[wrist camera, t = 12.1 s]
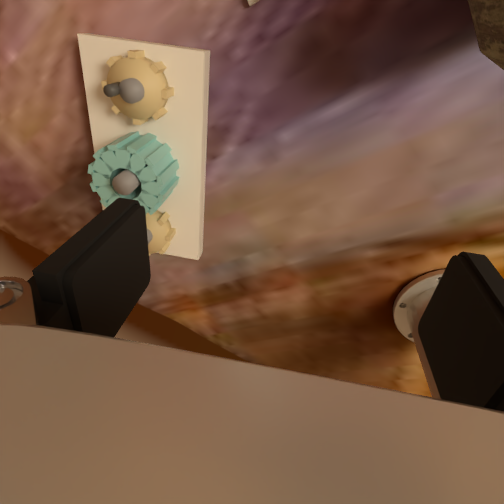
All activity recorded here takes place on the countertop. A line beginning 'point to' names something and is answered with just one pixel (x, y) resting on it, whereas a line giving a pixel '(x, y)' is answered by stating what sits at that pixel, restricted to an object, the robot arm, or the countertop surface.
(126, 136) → the loose gear
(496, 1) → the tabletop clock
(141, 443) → the robot arm
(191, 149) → the gear board
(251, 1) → the molding
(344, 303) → the countertop surface
